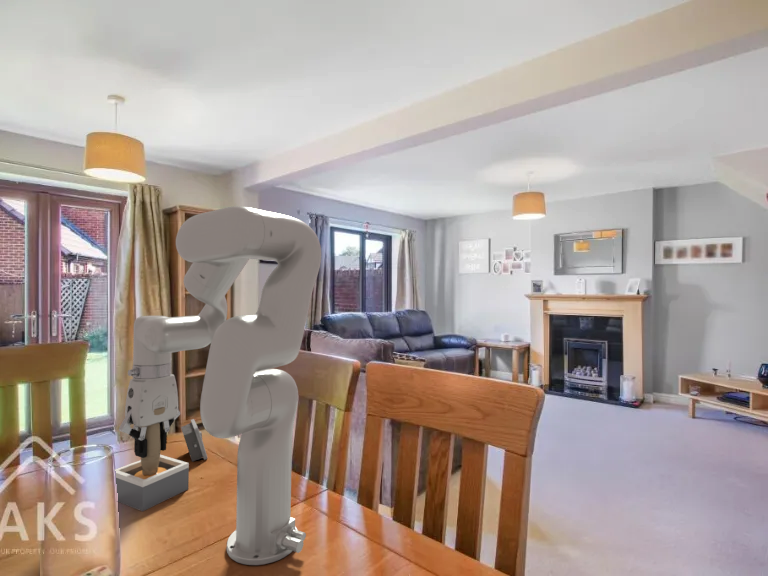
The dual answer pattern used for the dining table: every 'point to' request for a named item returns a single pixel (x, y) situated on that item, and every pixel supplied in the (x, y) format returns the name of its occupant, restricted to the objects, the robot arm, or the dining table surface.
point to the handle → (152, 447)
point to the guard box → (151, 483)
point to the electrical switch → (194, 441)
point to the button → (140, 475)
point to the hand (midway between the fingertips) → (150, 451)
